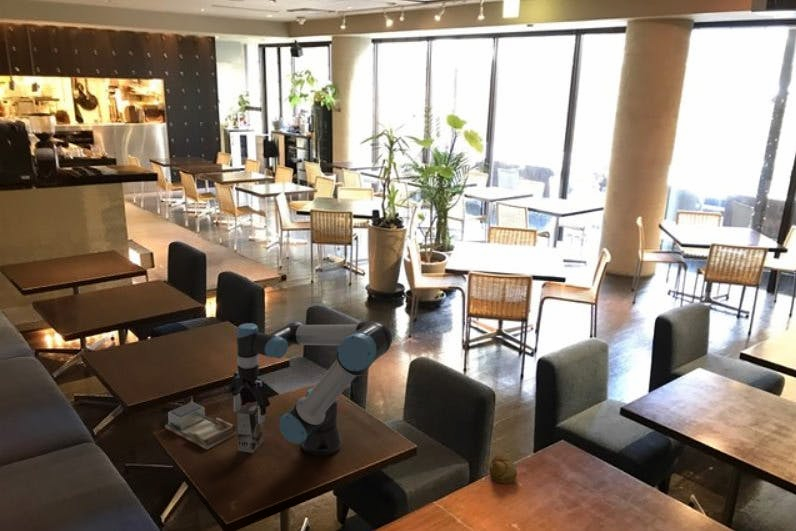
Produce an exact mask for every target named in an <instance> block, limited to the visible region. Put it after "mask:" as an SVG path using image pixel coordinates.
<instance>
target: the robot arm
mask: <svg viewBox="0 0 796 531" xmlns="http://www.w3.org/2000/svg"><path fill="white" fill-rule="evenodd" d="M392 343H393V334H392V332H391V330H390V328H389V327H388V326H387V325H386V324H385V323H383V322H380V321H373V320H371V321H369V320H367V321H363V320H362V321H359V322H358V323H355V324H348V323H347V324H303V323H301V322H299V321H295V322H291V323H289V324H287V325H285V326H283V327H281V328H279V329H277V330H275V331H273V332H271V333H269V334H268V333H264V332H263V333H262V332H260V331H259V327H258V325H257V324H255V323H253V322H250V323H249V322H248V323H242V324H239V325H238V327H237V329H236V344H237V345H236V346H237V371H235V372H234V373H233V378H232V380H231V383H230V385H229V387H228V393H230V394H231V395H232V402H233V412H234V413H237V412H238V411H239V410H240V409H241V408H242V406H241V405H242V402H241V394H240V392H241V391H242V389H243V388H246V389H247V390H249V391H250V392H251V393H252V394H253V396H254V398H255V400H256V403H258V404H259V406H260V407H258V423H259V424H260V423H262V424H263V422H266V414H267V407H269V406H271V403H270V400H269V397H268V394H267V391H266V388H265V383H264V380H263V379H261V380H259V379H258V375H259V372H260V371H259V355H262V356H265V357H269V358H272V359H282V358H284V356H285V355H286V354H287V352H288V349H289V347H292V346H338V348H337V351H336V353H335V361H334V362H333V363H332V365H331V366H330V367H329V368H328V369H327V371H326V372H325V374H324V375H322V377H321V379H319V381H318V382H317V383H316V385H315V386H314V387H311V388H309V389H307V391H306V394H305V396H303V397H300V398H299V399H298V400H297V401H296V403H295V404H294V405H293V406H292V408H291V409H290V410H288V411H287V412H286V413H284V414H283V415H282V416H281V417H280V419H279V422H278V426H279V428H280V432H281V434H282V436H283V437H284V438H285V439H286V440H287V441H288V442H290V443H292V444H295V445H299V444H301V448H302V450H303V451H304V452H306V454H308V455H312V456H317V457H318V456H319V457H321V456H322V457H323V456H329V455H332V454H335V453H336V452H338V451H339V450H340V449H341V447H342V438H341V435H340V433H339V432H340V431H339V428H338V424H337V421H338V398H339V397H340V395H341V394H342V393H343V392H344V390H346V388H348V386H349V385H350V384H351V383H352V381H353V380H354V379H355V378H356V377H361V376H363V375H364V374H365V373H366V372H367V370H368V369H369V368H370V367H371V366H372V365H373V364H374V363H375V362H376V360H377V361H378V359H380V357H382V356H384V355H385V354H386V353H387V352H389V350H390V348H391V346H392Z"/></svg>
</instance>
